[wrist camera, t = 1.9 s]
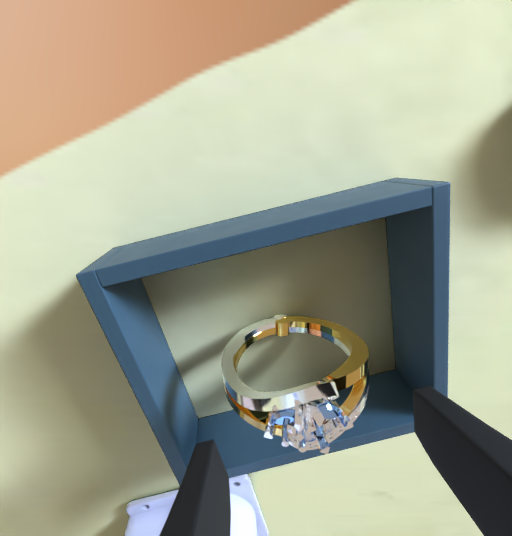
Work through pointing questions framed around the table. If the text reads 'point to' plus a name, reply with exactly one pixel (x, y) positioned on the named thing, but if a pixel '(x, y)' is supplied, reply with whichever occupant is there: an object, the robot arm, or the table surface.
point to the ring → (304, 396)
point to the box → (262, 235)
